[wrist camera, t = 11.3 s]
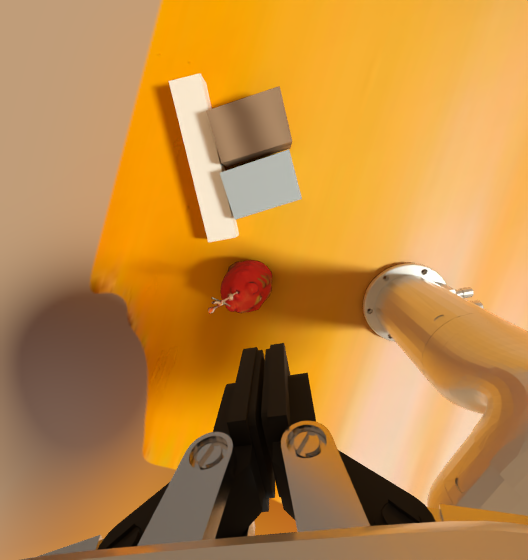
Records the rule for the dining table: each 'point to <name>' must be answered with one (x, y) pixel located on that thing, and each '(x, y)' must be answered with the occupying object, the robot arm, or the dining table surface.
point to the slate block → (261, 184)
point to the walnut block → (250, 127)
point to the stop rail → (203, 156)
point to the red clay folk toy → (244, 287)
